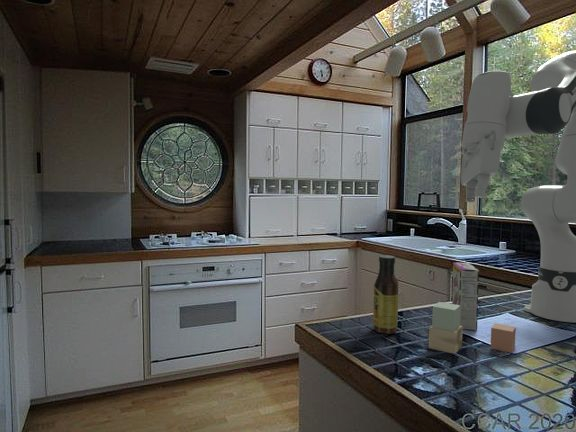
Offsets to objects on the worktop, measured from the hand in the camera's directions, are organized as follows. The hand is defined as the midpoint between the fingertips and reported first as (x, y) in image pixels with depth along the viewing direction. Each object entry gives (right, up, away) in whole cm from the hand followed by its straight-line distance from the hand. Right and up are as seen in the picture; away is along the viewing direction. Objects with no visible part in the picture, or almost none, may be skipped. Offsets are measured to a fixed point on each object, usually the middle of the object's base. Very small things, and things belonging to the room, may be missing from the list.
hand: (474, 199), depth 97 cm
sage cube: (-5, -30, +4) cm, 30 cm away
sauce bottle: (-17, -34, +15) cm, 41 cm away
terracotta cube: (+9, -35, +4) cm, 36 cm away
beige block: (-5, -35, +4) cm, 35 cm away
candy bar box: (+6, -34, +22) cm, 41 cm away
